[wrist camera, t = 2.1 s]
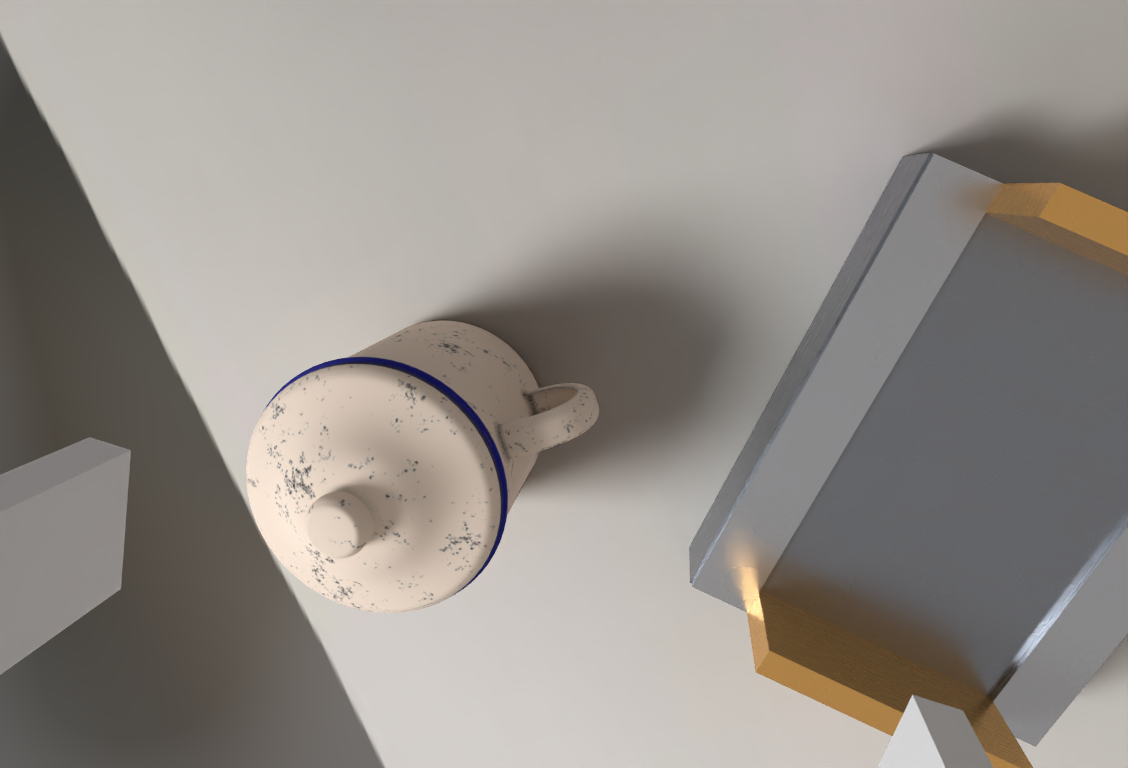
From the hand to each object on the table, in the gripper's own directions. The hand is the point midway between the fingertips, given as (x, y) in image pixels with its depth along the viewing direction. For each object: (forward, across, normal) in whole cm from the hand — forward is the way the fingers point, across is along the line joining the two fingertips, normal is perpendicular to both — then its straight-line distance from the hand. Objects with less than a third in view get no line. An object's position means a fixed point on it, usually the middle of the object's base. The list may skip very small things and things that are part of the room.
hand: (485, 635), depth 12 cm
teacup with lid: (+20, -5, -4) cm, 21 cm away
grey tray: (+20, +14, 0) cm, 24 cm away
